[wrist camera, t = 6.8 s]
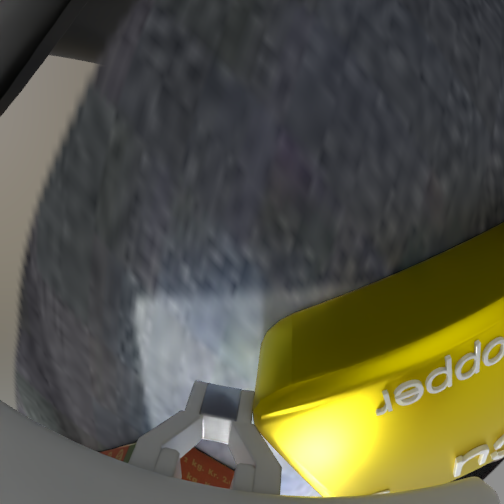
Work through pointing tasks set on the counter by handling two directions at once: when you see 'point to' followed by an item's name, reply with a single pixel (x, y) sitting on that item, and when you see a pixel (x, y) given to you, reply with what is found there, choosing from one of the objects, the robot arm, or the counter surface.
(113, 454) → the carton
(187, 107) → the counter surface
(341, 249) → the counter surface
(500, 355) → the element tile
